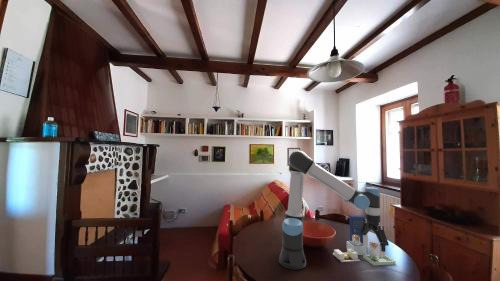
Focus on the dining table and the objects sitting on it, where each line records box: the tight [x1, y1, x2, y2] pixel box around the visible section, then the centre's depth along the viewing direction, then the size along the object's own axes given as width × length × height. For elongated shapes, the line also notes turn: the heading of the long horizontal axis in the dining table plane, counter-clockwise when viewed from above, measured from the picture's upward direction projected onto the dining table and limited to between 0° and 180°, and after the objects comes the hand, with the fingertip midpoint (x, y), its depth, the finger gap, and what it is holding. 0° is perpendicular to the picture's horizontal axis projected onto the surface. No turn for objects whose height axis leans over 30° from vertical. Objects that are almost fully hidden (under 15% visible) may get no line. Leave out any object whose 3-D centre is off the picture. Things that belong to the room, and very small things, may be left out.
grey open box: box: [346, 240, 368, 256], centre depth 131 cm, size 8×8×6 cm
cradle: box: [332, 248, 361, 263], centre depth 124 cm, size 12×10×5 cm
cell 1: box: [352, 234, 360, 246], centre depth 131 cm, size 4×4×11 cm
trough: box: [362, 254, 397, 266], centre depth 120 cm, size 14×9×2 cm, turn 97°
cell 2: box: [369, 241, 379, 262], centre depth 120 cm, size 4×4×11 cm
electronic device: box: [348, 214, 366, 244], centre depth 142 cm, size 10×5×20 cm, turn 89°
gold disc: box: [344, 254, 350, 260], centre depth 123 cm, size 4×4×2 cm
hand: (373, 251), depth 120 cm, fingers open, 13 cm apart
